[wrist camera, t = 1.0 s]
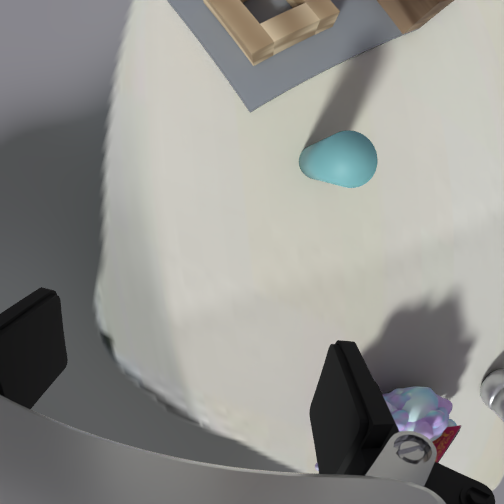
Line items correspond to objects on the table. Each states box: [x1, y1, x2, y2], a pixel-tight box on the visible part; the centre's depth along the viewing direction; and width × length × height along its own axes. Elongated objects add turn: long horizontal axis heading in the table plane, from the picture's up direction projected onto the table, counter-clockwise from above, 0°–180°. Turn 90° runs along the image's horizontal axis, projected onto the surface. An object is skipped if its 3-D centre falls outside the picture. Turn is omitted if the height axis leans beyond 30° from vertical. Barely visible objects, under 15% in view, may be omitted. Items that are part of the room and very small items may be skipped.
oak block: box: [203, 0, 340, 66], centre depth 25 cm, size 10×10×4 cm
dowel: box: [299, 131, 377, 188], centre depth 26 cm, size 4×4×14 cm
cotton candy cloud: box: [315, 386, 461, 471], centre depth 33 cm, size 20×22×18 cm
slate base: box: [167, 0, 419, 112], centre depth 27 cm, size 24×18×1 cm
